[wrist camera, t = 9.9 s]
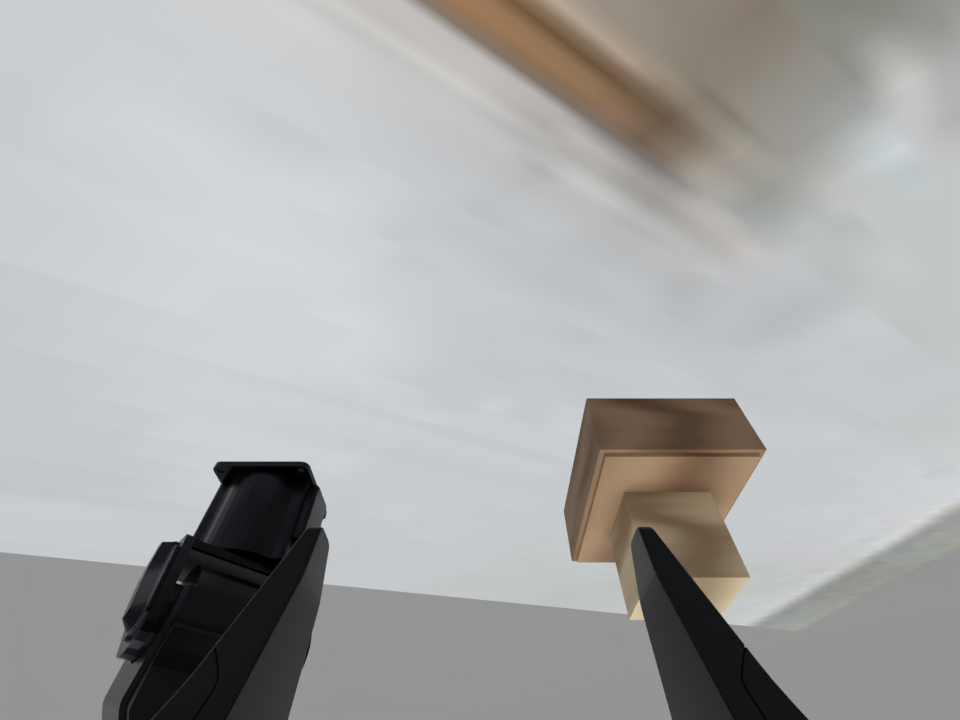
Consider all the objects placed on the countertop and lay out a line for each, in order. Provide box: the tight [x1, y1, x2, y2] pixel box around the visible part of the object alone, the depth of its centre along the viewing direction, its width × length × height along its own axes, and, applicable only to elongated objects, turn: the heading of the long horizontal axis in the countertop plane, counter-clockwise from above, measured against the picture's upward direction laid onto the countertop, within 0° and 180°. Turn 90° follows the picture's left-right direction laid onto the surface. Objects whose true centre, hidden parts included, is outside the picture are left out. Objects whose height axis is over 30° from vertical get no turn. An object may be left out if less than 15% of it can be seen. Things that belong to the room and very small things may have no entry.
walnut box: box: [564, 398, 767, 563], centre depth 30 cm, size 9×12×4 cm
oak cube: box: [609, 492, 750, 620], centre depth 26 cm, size 5×5×5 cm
